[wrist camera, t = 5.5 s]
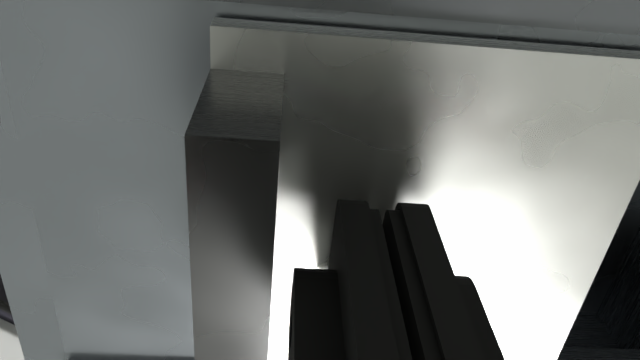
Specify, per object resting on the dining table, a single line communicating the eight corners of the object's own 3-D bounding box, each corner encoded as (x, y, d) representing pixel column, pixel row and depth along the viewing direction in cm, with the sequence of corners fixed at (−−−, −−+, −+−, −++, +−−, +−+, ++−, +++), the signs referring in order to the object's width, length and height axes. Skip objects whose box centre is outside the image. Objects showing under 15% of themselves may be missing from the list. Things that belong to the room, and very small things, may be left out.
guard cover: (675, 53, 10) (807, 126, 7) (535, 373, 14) (586, 487, 11) (213, 17, 9) (181, 83, 6) (218, 363, 13) (199, 481, 11)
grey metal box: (751, -120, 15) (1087, -94, 8) (577, 277, 22) (688, 448, 16) (56, -194, 13) (-158, -229, 7) (117, 256, 20) (38, 434, 14)
